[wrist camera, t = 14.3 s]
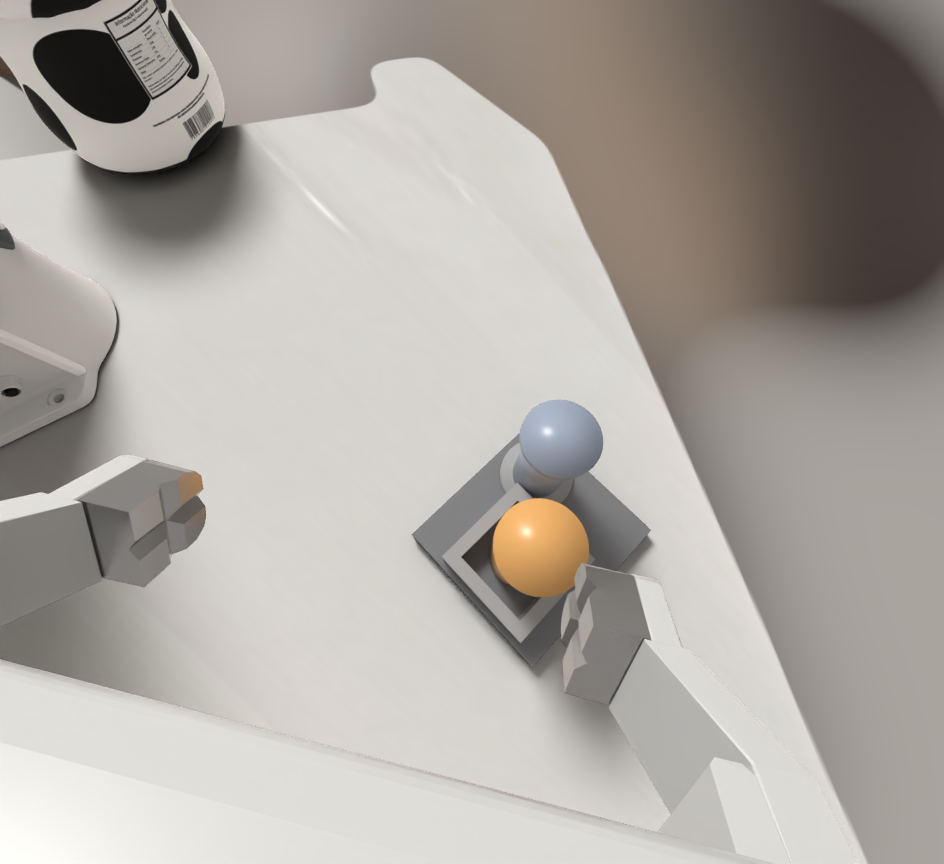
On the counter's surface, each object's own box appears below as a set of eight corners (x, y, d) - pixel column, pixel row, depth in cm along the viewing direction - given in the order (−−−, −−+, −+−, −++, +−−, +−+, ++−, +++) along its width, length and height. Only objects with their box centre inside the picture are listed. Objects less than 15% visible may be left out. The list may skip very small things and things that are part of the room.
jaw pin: (515, 609, 33) (543, 619, 22) (467, 557, 34) (473, 544, 24) (561, 559, 34) (608, 547, 24) (514, 511, 35) (539, 479, 25)
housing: (529, 664, 33) (561, 697, 23) (413, 536, 36) (396, 515, 26) (644, 531, 36) (717, 509, 26) (530, 425, 39) (556, 368, 29)
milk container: (82, 90, 52) (-100, -152, 35) (234, 75, 54) (131, -164, 37) (70, 201, 46) (-153, -25, 29) (240, 179, 48) (123, -45, 31)
